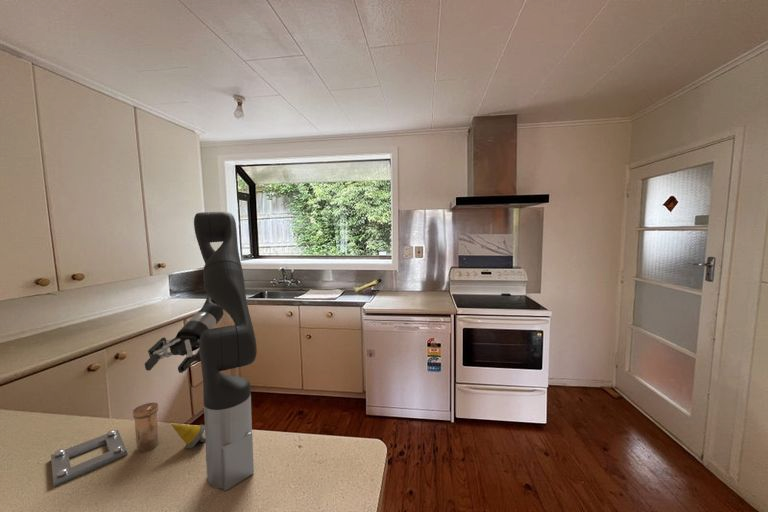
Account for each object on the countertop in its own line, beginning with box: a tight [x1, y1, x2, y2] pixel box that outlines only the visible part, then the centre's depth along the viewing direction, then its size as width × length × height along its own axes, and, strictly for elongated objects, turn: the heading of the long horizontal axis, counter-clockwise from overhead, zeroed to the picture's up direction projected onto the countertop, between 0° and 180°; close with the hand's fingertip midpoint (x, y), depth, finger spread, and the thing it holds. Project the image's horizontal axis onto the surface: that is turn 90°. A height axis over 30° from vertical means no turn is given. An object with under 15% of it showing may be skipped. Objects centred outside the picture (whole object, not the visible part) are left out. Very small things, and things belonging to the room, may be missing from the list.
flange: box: [50, 429, 128, 488], centre depth 71 cm, size 12×12×2 cm
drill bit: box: [171, 423, 206, 450], centre depth 75 cm, size 5×5×10 cm
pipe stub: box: [132, 402, 159, 453], centre depth 75 cm, size 5×5×10 cm
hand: (163, 369), depth 78 cm, fingers open, 8 cm apart
